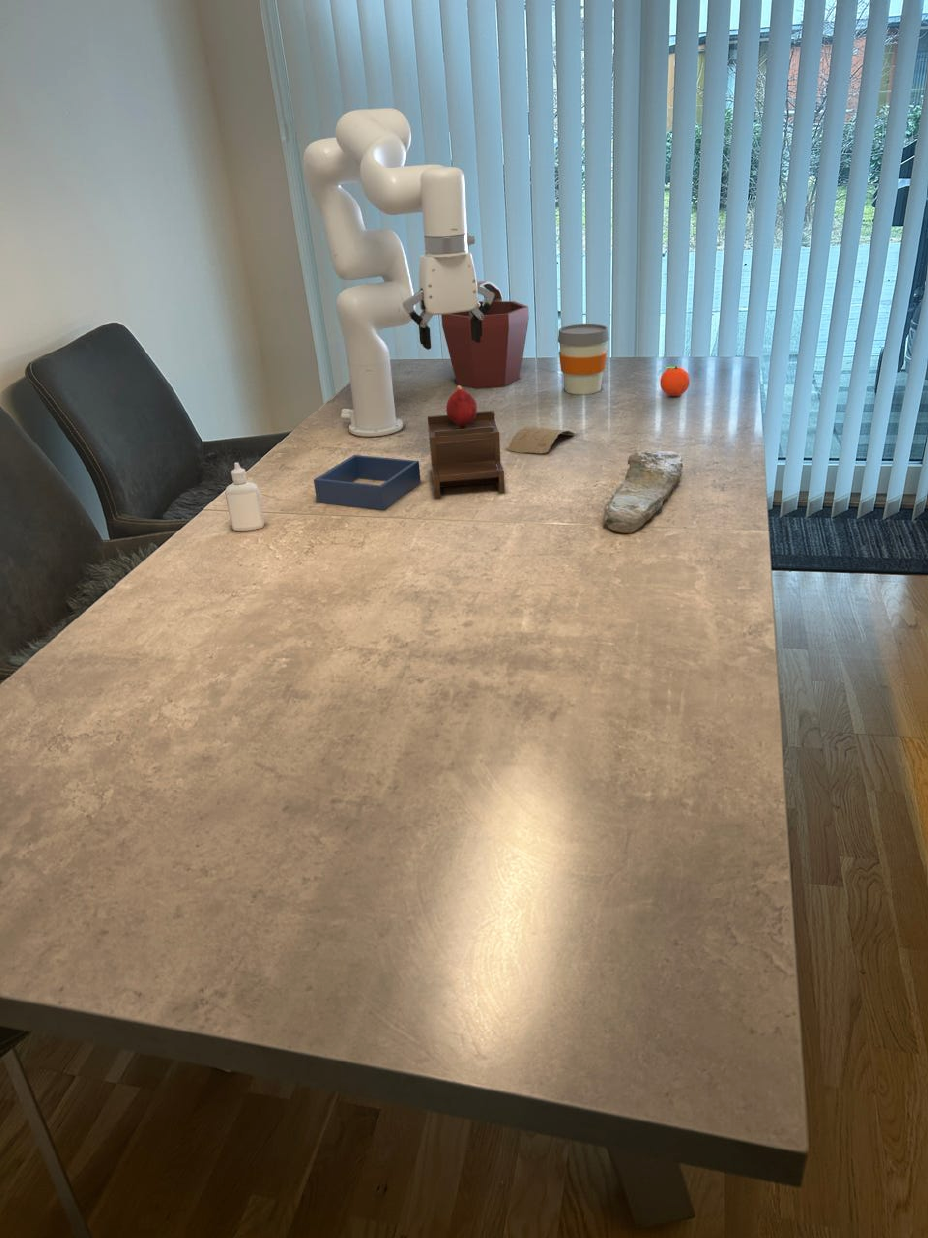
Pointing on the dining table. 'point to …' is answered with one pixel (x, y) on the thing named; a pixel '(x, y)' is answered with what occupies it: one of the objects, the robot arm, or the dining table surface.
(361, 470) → the crate
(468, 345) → the bucket
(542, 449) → the clay tablet
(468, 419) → the onion
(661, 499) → the elongated rock
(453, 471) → the step shelf
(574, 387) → the reusable coffee cup
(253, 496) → the eye dropper bottle
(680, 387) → the clementine
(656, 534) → the dining table surface
